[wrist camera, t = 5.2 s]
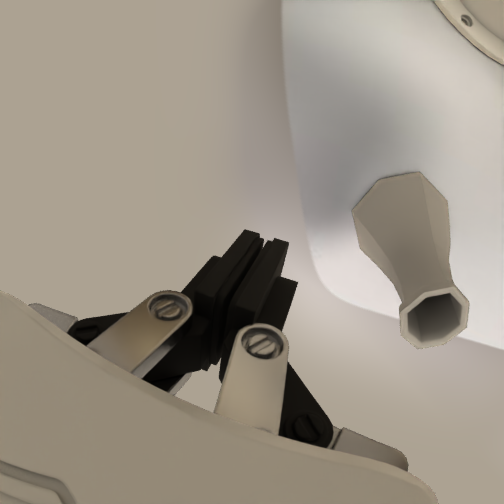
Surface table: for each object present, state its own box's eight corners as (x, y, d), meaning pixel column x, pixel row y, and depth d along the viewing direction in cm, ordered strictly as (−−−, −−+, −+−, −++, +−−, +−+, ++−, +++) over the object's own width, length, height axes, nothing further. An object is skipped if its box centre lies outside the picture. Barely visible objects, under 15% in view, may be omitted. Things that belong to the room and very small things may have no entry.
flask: (422, 152, 15) (489, 200, 7) (462, 241, 16) (515, 338, 8) (333, 205, 19) (315, 292, 10) (381, 283, 20) (386, 393, 12)
